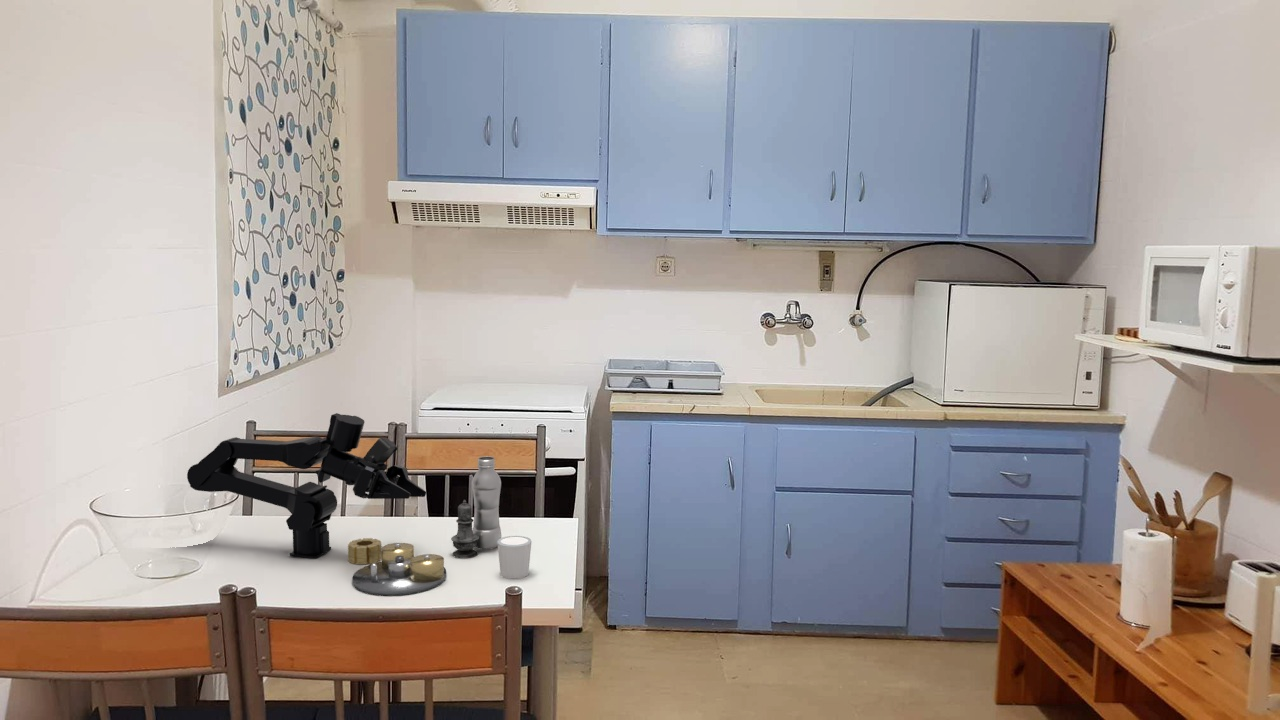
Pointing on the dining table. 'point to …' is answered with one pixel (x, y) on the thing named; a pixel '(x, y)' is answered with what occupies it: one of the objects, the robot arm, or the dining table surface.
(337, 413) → the robot arm
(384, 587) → the carrier
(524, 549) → the shot glass
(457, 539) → the salt shaker
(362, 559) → the gear
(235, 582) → the dining table surface
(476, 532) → the plastic bottle
